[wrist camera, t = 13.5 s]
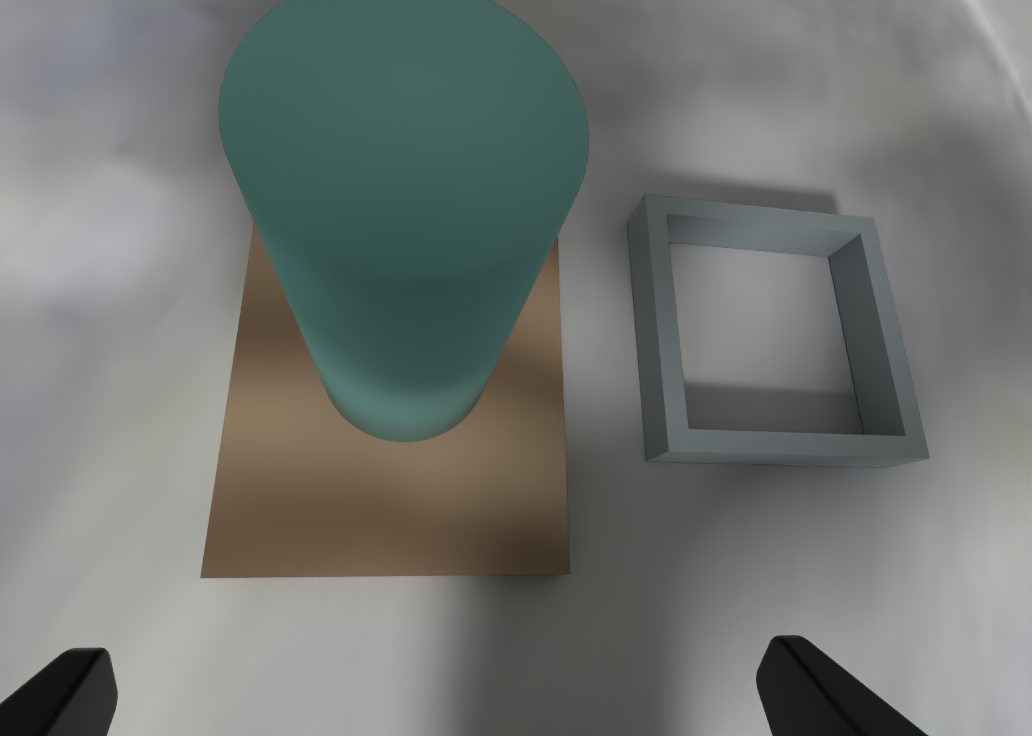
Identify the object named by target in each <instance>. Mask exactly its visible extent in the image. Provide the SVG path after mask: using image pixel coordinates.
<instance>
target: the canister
mask: <svg viewBox="0 0 1032 736" xmlns="http://www.w3.org/2000/svg"><path fill="white" fill-rule="evenodd" d="M219 122H220V133H221V137H222V141H223V145H224V150H225V153H226V156H227V158H228V160H229V163H230V165H231V168H232V170H233V172H234V175H235V177H236V179H237V182H238V184H239V187H240V189H241V191H242V194H243V196H244V198H245V201H246V203H247V205H248V208H249V210H250V212H251V215H252V217H253V220H254V222H255V224H256V227H257V229H258V231H259V234H260V236H261V238H262V241H263V243H264V246H265V248H266V250H267V253H268V255H269V257H270V260H271V262H272V264H273V267H274V269H275V271H276V274H277V276H278V279H279V281H280V283H281V286H282V288H283V290H284V293H285V295H286V297H287V300H288V302H289V305H290V307H291V309H292V312H293V314H294V316H295V319H296V321H297V323H298V326H299V328H300V330H301V333H302V335H303V338H304V340H305V342H306V345H307V347H308V349H309V352H310V354H311V356H312V359H313V361H314V364H315V366H316V368H317V371H318V373H319V375H320V378H321V380H322V382H323V385H324V387H325V389H326V392H327V394H328V397H329V398H330V400H331V402H332V404H333V405H334V407H335V408H336V409H337V411H338V412H339V413H340V414H341V415H342V416H343V417H344V418H345V419H346V420H347V421H348V422H349V423H350V424H352V425H353V426H354V427H356V428H357V429H359V430H361V431H363V432H364V433H366V434H368V435H371V436H373V437H376V438H379V439H383V440H387V441H393V442H416V441H423V440H427V439H430V438H434V437H436V436H439V435H441V434H443V433H445V432H447V431H449V430H450V429H452V428H454V427H455V426H456V425H458V424H459V423H460V422H462V421H463V420H464V419H465V418H466V417H467V416H468V415H469V414H470V412H471V411H472V410H473V408H474V407H475V406H476V404H477V402H478V401H479V399H480V397H481V395H482V393H483V391H484V389H485V387H486V385H487V382H488V380H489V378H490V376H491V374H492V372H493V370H494V368H495V366H496V363H497V361H498V359H499V357H500V355H501V353H502V351H503V349H504V347H505V345H506V342H507V340H508V338H509V336H510V334H511V332H512V330H513V328H514V326H515V323H516V321H517V319H518V317H519V315H520V313H521V311H522V309H523V307H524V305H525V302H526V300H527V298H528V296H529V294H530V292H531V290H532V288H533V286H534V284H535V281H536V279H537V277H538V275H539V273H540V271H541V269H542V267H543V265H544V262H545V260H546V258H547V256H548V254H549V252H550V250H551V248H552V246H553V244H554V241H555V239H556V237H557V235H558V233H559V231H560V229H561V227H562V225H563V223H564V220H565V218H566V216H567V214H568V212H569V210H570V208H571V206H572V204H573V201H574V199H575V197H576V195H577V193H578V191H579V188H580V185H581V182H582V180H583V177H584V174H585V169H586V164H587V159H588V147H589V133H588V125H587V117H586V114H585V110H584V106H583V102H582V99H581V97H580V94H579V92H578V89H577V87H576V85H575V82H574V80H573V79H572V77H571V75H570V74H569V72H568V70H567V68H566V67H565V65H564V64H563V62H562V61H561V60H560V58H559V57H558V56H557V54H556V53H555V52H554V50H553V49H552V48H551V47H550V46H549V45H548V44H547V43H546V42H545V41H544V40H543V39H542V37H541V36H540V35H539V34H538V33H536V32H535V31H534V30H533V29H532V28H531V27H529V26H528V25H527V24H526V23H525V22H523V21H522V20H521V19H519V18H518V17H516V16H515V15H513V14H512V13H510V12H509V11H507V10H506V9H505V8H503V7H501V6H499V5H497V4H495V3H493V2H492V1H490V0H288V1H286V2H284V3H283V4H281V5H279V6H278V7H276V8H275V9H274V10H272V11H271V12H270V13H269V14H267V15H266V16H265V17H264V18H262V19H261V20H260V21H259V22H258V23H257V24H256V25H255V26H254V27H253V28H252V30H251V31H250V32H249V33H248V34H247V35H246V36H245V38H244V39H243V41H242V42H241V44H240V45H239V46H238V48H237V49H236V51H235V53H234V55H233V57H232V59H231V61H230V63H229V65H228V67H227V69H226V73H225V76H224V80H223V83H222V87H221V92H220V102H219Z"/></svg>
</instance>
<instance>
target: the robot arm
mask: <svg viewBox="0 0 1032 736" xmlns="http://www.w3.org/2000/svg"><path fill="white" fill-rule="evenodd" d="M756 683H757V689H758V692H759V695H760V699H761V702H762V705H763V708H764V711H765V714H766V717H767V720H768V723H769V726H770V729H771V732H772V735H773V736H928V735H927V734H925V733H924V732H923V731H922V730H920V729H919V728H918V727H917V726H915V725H914V724H913V723H912V722H910V721H909V720H908V719H907V718H905V717H904V716H903V715H902V714H900V713H899V712H898V711H897V710H895V709H894V708H893V707H891V706H890V705H889V704H888V703H886V702H885V701H884V700H883V699H881V698H880V697H879V696H878V695H876V694H875V693H874V692H873V691H871V690H870V689H869V688H868V687H866V686H865V685H864V684H863V683H861V682H860V681H859V680H857V679H856V678H855V677H854V676H852V675H851V674H850V673H849V672H847V671H846V670H845V669H844V668H842V667H841V666H840V665H839V664H837V663H836V662H835V661H834V660H832V659H831V658H830V657H829V656H827V655H826V654H825V653H823V652H822V651H821V650H820V649H818V648H817V647H816V646H815V645H813V644H812V643H811V642H810V641H808V640H807V639H805V638H804V637H802V636H798V635H780V636H775V637H774V638H773V639H772V640H771V641H770V643H769V645H768V648H767V650H766V652H765V654H764V657H763V659H762V661H761V663H760V666H759V668H758V670H757V675H756ZM117 699H118V691H117V685H116V681H115V676H114V672H113V667H112V663H111V658H110V655H109V652H108V651H107V650H106V649H104V648H73V649H69V650H67V651H65V652H63V653H62V654H60V655H59V656H58V657H57V658H55V659H54V660H53V661H52V662H50V663H49V664H48V665H47V666H46V667H44V668H43V669H42V670H41V671H40V672H38V673H37V674H36V675H35V676H33V677H32V678H31V679H30V680H29V681H27V682H26V683H25V684H24V685H22V686H21V687H20V688H19V689H18V690H16V691H15V692H14V693H13V694H11V695H10V696H9V697H8V698H7V699H5V700H4V701H3V702H2V703H0V736H107V733H108V730H109V728H110V725H111V722H112V719H113V716H114V713H115V710H116V705H117Z"/></svg>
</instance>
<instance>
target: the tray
mask: <svg viewBox="0 0 1032 736" xmlns="http://www.w3.org/2000/svg"><path fill="white" fill-rule="evenodd" d="M627 226H628V238H629V251H630V263H631V276H632V288H633V301H634V313H635V326H636V338H637V351H638V363H639V376H640V388H641V400H642V413H643V425H644V438H645V450H646V462H682V463H725V464H767V465H809V466H852V467H893V466H897V465H902V464H906V463H911V462H915V461H920V460H924V459H929V453H928V449H927V445H926V440H925V436H924V432H923V428H922V423H921V419H920V415H919V411H918V406H917V402H916V398H915V393H914V389H913V385H912V381H911V376H910V372H909V368H908V363H907V359H906V355H905V351H904V346H903V342H902V338H901V334H900V329H899V325H898V321H897V316H896V312H895V308H894V304H893V299H892V295H891V291H890V287H889V282H888V278H887V274H886V269H885V265H884V261H883V257H882V252H881V248H880V244H879V239H878V235H877V231H876V227H875V222H874V218H867V217H857V216H848V215H838V214H829V213H819V212H809V211H800V210H790V209H781V208H771V207H762V206H752V205H743V204H733V203H724V202H714V201H705V200H695V199H686V198H676V197H666V196H657V195H647V194H645V195H644V197H643V198H642V200H641V201H640V203H639V204H638V206H637V208H636V209H635V211H634V212H633V214H632V215H631V217H630V218H629V220H628V222H627ZM669 242H672V243H683V244H694V245H705V246H716V247H727V248H738V249H749V250H760V251H771V252H782V253H793V254H804V255H815V256H826V257H829V261H830V266H831V271H832V276H833V281H834V286H835V291H836V296H837V301H838V306H839V311H840V316H841V321H842V326H843V331H844V336H845V341H846V346H847V351H848V356H849V361H850V366H851V371H852V376H853V381H854V386H855V390H856V395H857V400H858V405H859V410H860V415H861V420H862V425H863V430H864V435H855V434H825V433H796V432H766V431H737V430H708V429H689V428H688V418H687V409H686V399H685V390H684V380H683V371H682V361H681V352H680V342H679V332H678V323H677V313H676V304H675V294H674V285H673V275H672V266H671V256H670V247H669Z"/></svg>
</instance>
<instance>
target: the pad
mask: <svg viewBox="0 0 1032 736" xmlns="http://www.w3.org/2000/svg"><path fill="white" fill-rule="evenodd" d="M538 574H570V563H569V536H568V509H567V482H566V454H565V427H564V400H563V373H562V345H561V318H560V291H559V263H558V236H557V237H556V239H555V241H554V244H553V246H552V248H551V250H550V252H549V254H548V256H547V258H546V260H545V262H544V265H543V267H542V269H541V271H540V273H539V275H538V277H537V279H536V281H535V284H534V286H533V288H532V290H531V292H530V294H529V296H528V298H527V300H526V302H525V305H524V307H523V309H522V311H521V313H520V315H519V317H518V319H517V321H516V323H515V326H514V328H513V330H512V332H511V334H510V336H509V338H508V340H507V342H506V345H505V347H504V349H503V351H502V353H501V355H500V357H499V359H498V361H497V363H496V366H495V368H494V370H493V372H492V374H491V376H490V378H489V380H488V382H487V385H486V387H485V389H484V391H483V393H482V395H481V397H480V399H479V401H478V402H477V404H476V406H475V407H474V408H473V410H472V411H471V412H470V414H469V415H468V416H467V417H466V418H465V419H464V420H463V421H462V422H460V423H459V424H458V425H456V426H455V427H454V428H452V429H450V430H449V431H447V432H445V433H443V434H441V435H439V436H436V437H434V438H430V439H427V440H423V441H416V442H393V441H387V440H383V439H379V438H376V437H373V436H371V435H368V434H366V433H364V432H363V431H361V430H359V429H357V428H356V427H354V426H353V425H352V424H350V423H349V422H348V421H347V420H346V419H345V418H344V417H343V416H342V415H341V414H340V413H339V412H338V411H337V409H336V408H335V407H334V405H333V404H332V402H331V400H330V398H329V397H328V394H327V392H326V389H325V387H324V385H323V382H322V380H321V378H320V375H319V373H318V371H317V368H316V366H315V364H314V361H313V359H312V356H311V354H310V352H309V349H308V347H307V345H306V342H305V340H304V338H303V335H302V333H301V330H300V328H299V326H298V323H297V321H296V319H295V316H294V314H293V312H292V309H291V307H290V305H289V302H288V300H287V297H286V295H285V293H284V290H283V288H282V286H281V283H280V281H279V279H278V276H277V274H276V271H275V269H274V267H273V264H272V262H271V260H270V257H269V255H268V253H267V250H266V248H265V246H264V243H263V241H262V238H261V236H260V234H259V231H258V229H257V227H256V224H255V222H254V227H253V234H252V240H251V247H250V253H249V260H248V267H247V273H246V280H245V286H244V293H243V300H242V306H241V313H240V319H239V326H238V333H237V339H236V346H235V352H234V359H233V366H232V372H231V379H230V385H229V392H228V399H227V405H226V412H225V418H224V425H223V432H222V438H221V445H220V451H219V458H218V465H217V471H216V478H215V484H214V491H213V498H212V504H211V511H210V517H209V524H208V531H207V537H206V544H205V550H204V557H203V564H202V570H201V577H200V578H249V577H346V576H442V575H538Z"/></svg>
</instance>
